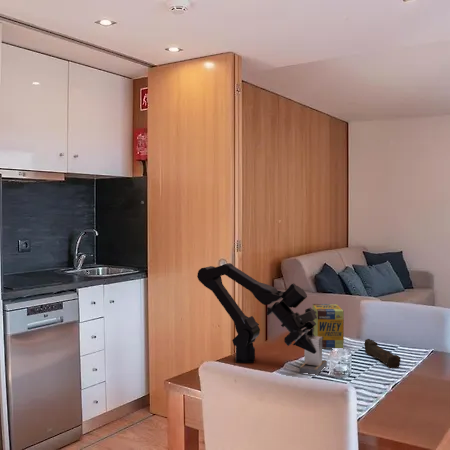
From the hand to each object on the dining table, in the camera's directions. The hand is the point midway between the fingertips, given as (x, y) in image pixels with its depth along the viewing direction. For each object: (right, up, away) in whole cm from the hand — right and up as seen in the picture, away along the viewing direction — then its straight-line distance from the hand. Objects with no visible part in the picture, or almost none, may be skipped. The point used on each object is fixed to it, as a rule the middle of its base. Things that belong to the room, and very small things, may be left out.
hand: (317, 351), depth 179 cm
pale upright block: (-1, -4, +1) cm, 4 cm away
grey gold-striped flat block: (-1, -7, +1) cm, 7 cm away
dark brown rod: (+25, -7, +13) cm, 29 cm away
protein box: (+10, -6, +34) cm, 36 cm away
